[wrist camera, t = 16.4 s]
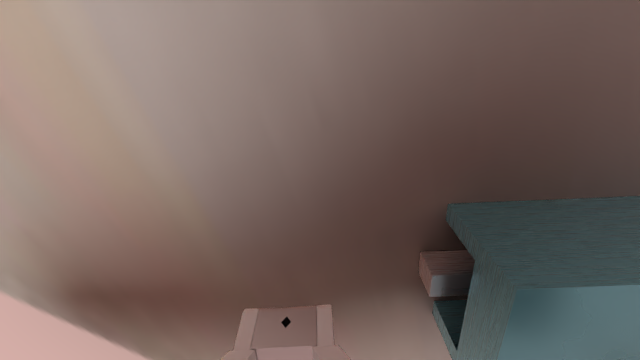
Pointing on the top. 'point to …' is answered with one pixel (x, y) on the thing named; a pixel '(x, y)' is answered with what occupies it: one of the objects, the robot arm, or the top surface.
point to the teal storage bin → (547, 281)
